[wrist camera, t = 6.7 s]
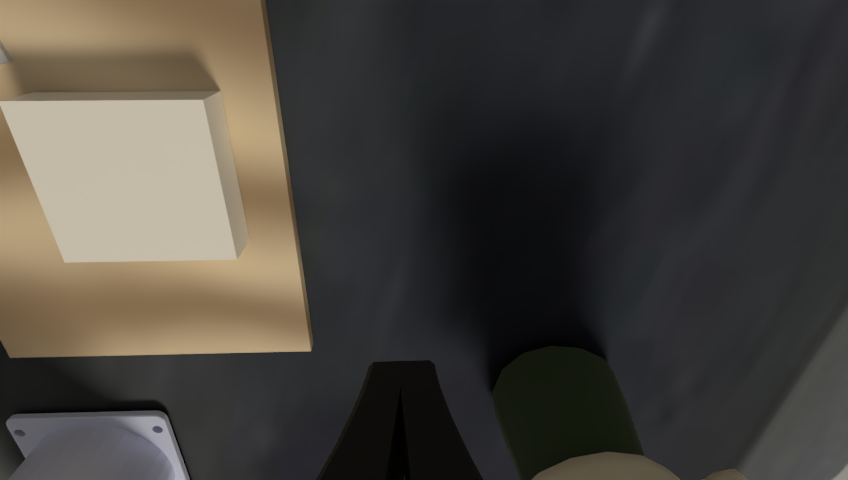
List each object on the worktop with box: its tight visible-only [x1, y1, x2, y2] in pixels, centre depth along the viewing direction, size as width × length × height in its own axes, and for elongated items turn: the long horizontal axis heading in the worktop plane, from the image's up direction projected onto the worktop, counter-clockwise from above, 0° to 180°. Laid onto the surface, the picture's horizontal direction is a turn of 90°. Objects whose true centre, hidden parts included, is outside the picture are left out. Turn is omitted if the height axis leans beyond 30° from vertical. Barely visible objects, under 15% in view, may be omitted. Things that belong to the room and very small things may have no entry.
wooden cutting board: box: [0, 0, 313, 358], centre depth 18 cm, size 18×14×1 cm
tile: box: [0, 91, 250, 263], centre depth 17 cm, size 6×2×6 cm
